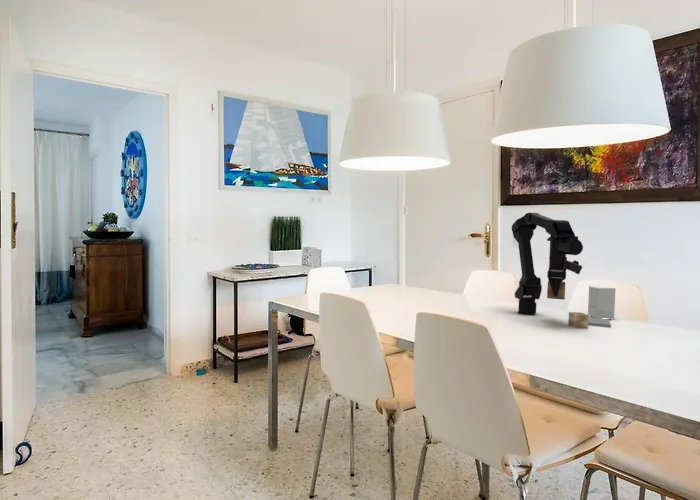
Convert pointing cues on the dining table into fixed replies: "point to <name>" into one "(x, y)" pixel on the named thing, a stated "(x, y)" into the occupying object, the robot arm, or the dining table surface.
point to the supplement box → (601, 302)
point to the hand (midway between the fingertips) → (555, 294)
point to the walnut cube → (560, 294)
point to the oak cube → (578, 320)
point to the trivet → (598, 322)
